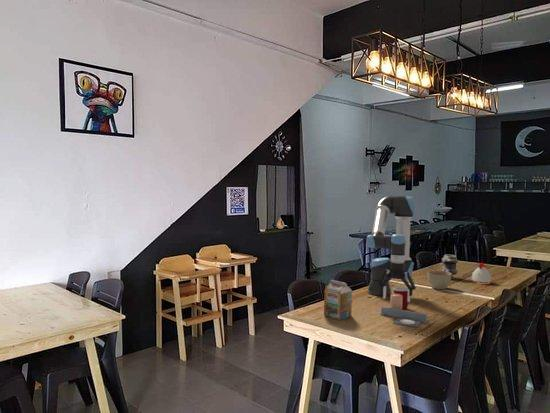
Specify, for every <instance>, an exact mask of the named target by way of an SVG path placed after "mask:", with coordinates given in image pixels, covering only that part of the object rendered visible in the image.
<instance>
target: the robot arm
mask: <svg viewBox="0 0 550 413" xmlns="http://www.w3.org/2000/svg"><path fill="white" fill-rule="evenodd" d="M390 214H391V215H394V216H393V217H394V218H395V219H396V226H395V227H396V228H395V229H396V233H394V234H392V235H386V228H387V223H388V222H387V221H388V217H389V215H390ZM414 215H416V205H415V199H414V197H413V196H410V195H409V196H407V195H402V196H401V195H389V196H385V197H383V198H381V199H380V200H379V201H378V202H377V203H376V205H375V207H374V220H373V226H372V230H371V231H372V232H371V234H367V236H366V246H367V247H368V248H371V249H387V250H390V258H389V257H378V258H377V257H376V258H374V259H372V260H371V265H370V270H371V272H370V283H369V285H368V288H367V293H368V294H370V295H372V296H373V295H374V296H379V297H381V296H382V299H384V300H385V299H386V298H387V296H391V294H392V288H391V285H390V281H391V280H392V279H393V280H396V279H397V280H401V281H402V282H403V284H404V285H405V287H408V289H409V290H408V300H407V302H409V303H410V302H411V297H412V296H413V291H415V290H416V289H417V287H416V285H415V283H414V280H413V279H412V275H413V269H414V265H415V262H413V261H412V258H411V257H410V243H411V242H410V241H411V220H412V219H413V218H414Z"/></svg>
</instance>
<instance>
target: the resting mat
mask: <svg viewBox="0 0 550 413" xmlns="http://www.w3.org/2000/svg"><path fill="white" fill-rule="evenodd" d="M422 323H423V322H422V321H417V320H412V319H406V318H400V317H397V319H395V320H394V321H393V322H392V324H395V325H399V326H400V325H401V326H405V327H410V328H416V329H417V328H418V327H419V326H420V325H421V324H422Z"/></svg>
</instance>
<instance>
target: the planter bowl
mask: <svg viewBox="0 0 550 413" xmlns="http://www.w3.org/2000/svg"><path fill="white" fill-rule="evenodd" d="M426 275H427V279H428V282H429V284H430V285H431V288H433V289H437V290H446V289H447V288H448V286H449V285H450V282H451V280H452V279H451V275H452V274H451V273H449V272H445V271H441V270H428V271H427V272H426ZM452 276H453V275H452Z"/></svg>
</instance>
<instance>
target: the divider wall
mask: <svg viewBox="0 0 550 413" xmlns="http://www.w3.org/2000/svg"><path fill="white" fill-rule="evenodd" d="M379 315H380V316H383V317H384V316H389V317H393V318H394V317H395V318H399V317H400V318H406V319H412V320H417V321H422V322H421V323H425V324H427V323H428V314H427V313H422V312H416V311H409V310H406V309H405V310H399V309H393V308H390V307H387V306H386V307H385V306H381V311H380V314H379Z"/></svg>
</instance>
